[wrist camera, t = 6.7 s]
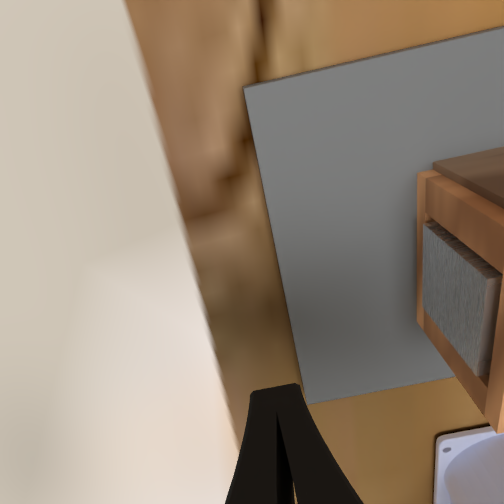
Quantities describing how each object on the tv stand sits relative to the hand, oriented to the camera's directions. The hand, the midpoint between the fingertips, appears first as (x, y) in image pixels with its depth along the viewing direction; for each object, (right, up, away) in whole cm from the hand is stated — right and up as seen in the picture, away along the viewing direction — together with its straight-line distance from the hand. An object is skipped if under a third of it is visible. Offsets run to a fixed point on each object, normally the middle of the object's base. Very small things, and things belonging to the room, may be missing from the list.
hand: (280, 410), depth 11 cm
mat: (+9, +5, +6) cm, 12 cm away
